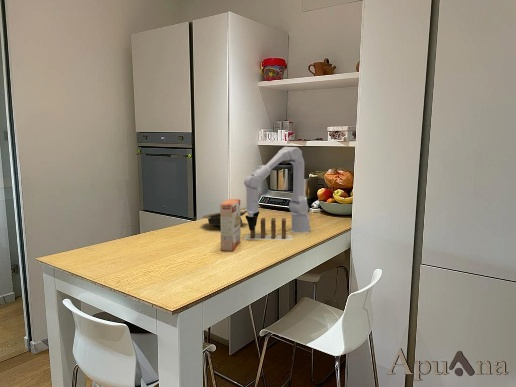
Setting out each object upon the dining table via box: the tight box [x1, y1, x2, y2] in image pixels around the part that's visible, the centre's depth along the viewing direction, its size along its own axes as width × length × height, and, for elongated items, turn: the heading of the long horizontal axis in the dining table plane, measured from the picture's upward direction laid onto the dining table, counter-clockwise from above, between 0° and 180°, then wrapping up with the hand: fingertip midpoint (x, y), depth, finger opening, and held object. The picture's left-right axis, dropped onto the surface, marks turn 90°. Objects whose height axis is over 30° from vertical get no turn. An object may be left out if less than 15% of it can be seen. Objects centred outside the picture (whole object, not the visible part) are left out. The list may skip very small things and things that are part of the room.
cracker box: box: [219, 198, 241, 252], centre depth 175 cm, size 14×6×21 cm, turn 168°
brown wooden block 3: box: [270, 217, 277, 239], centre depth 189 cm, size 2×5×9 cm, turn 174°
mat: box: [243, 234, 293, 241], centre depth 190 cm, size 23×9×1 cm, turn 84°
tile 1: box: [281, 217, 287, 239], centre depth 189 cm, size 2×5×9 cm, turn 174°
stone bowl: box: [201, 210, 247, 227], centre depth 216 cm, size 25×25×9 cm
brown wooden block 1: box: [249, 227, 256, 239], centre depth 190 cm, size 2×5×9 cm, turn 174°
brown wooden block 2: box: [260, 217, 266, 239], centre depth 190 cm, size 2×5×9 cm, turn 174°
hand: (252, 228), depth 190 cm, fingers open, 7 cm apart
